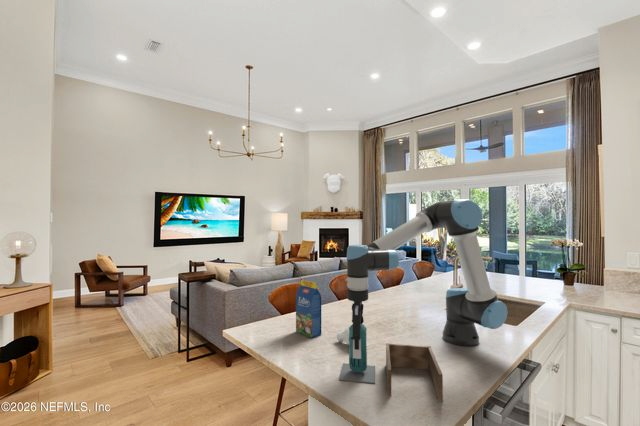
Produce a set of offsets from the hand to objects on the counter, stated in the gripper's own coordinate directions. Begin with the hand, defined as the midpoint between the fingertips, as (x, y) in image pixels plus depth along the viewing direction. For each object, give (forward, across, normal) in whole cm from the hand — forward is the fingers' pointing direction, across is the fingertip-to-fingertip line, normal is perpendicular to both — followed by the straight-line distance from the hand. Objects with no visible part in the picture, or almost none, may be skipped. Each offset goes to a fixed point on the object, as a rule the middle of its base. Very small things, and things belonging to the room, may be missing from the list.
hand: (357, 351), depth 109 cm
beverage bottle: (+7, 0, 0) cm, 7 cm away
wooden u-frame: (+8, +2, +18) cm, 20 cm away
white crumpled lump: (+8, -25, -6) cm, 27 cm away
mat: (+8, 0, 0) cm, 8 cm away
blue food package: (+8, -35, -26) cm, 44 cm away
